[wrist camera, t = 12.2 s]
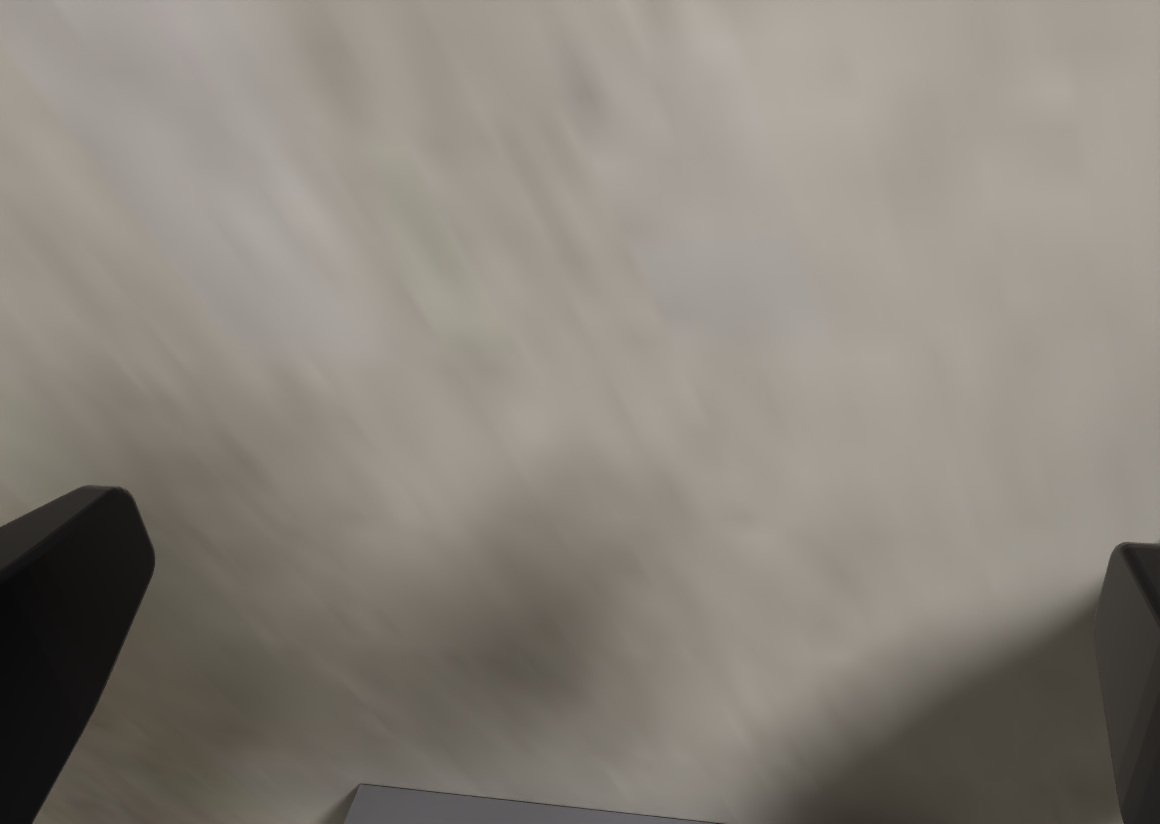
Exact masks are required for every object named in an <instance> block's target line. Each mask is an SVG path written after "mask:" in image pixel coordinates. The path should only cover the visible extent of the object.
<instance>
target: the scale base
mask: <svg viewBox="0 0 1160 824" xmlns="http://www.w3.org/2000/svg"><path fill="white" fill-rule="evenodd" d="M344 824H715V823H706V822H697V821H688V820H679V819H670V818H661V817H652V816H643V815H634V814H625V813H616V812H607V811H598V810H589V809H580V808H571V807H562V806H553V805H544V804H535V803H526V802H517V801H508V800H499V799H490V798H481V797H472V796H463V795H453V794H444V793H435V792H426V791H417V790H408V789H399V788H390V787H381V786H372V785H363V784H360V785H359V788H358V790H357V793H356V795H355V797H354V800H353V802H352V804H351V807H350V809H349V812H348V814H347V816H346V819H345V821H344Z"/></svg>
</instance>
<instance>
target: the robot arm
mask: <svg viewBox="0 0 1160 824" xmlns="http://www.w3.org/2000/svg"><path fill="white" fill-rule="evenodd" d="M154 567H155V553H154V548H153V545H152V543H151V540H150V538H149V535H148V533H147V530H146V528H145V525H144V522H143V520H142V517H141V515H140V512H139V510H138V507H137V505H136V502H135V500H134V498H133V496H132V495H131V494H130V493H129V492H128V491H127V490H126V489H124V488H121V487H117V486H99V485H87V486H82V487H80V488H77V489H75V490H73V491H71V492H69V493H67V494H65V495H63V496H61V497H59V498H57V499H55V500H53V501H51V502H49V503H47V504H45V505H43V506H41V507H39V508H37V509H35V510H33V511H31V512H29V513H27V514H25V515H23V516H21V517H19V518H17V519H15V520H13V521H11V522H9V523H7V524H5V525H4V526H2V527H0V824H32V823H33V821H34V820H35V818H36V816H37V814H38V812H39V811H40V809H41V807H42V805H43V803H44V802H45V800H46V798H47V796H48V794H49V792H50V791H51V789H52V787H53V785H54V783H55V782H56V780H57V778H58V776H59V774H60V772H61V771H62V769H63V767H64V765H65V763H66V762H67V760H68V758H69V756H70V754H71V752H72V751H73V749H74V747H75V745H76V743H77V742H78V740H79V738H80V736H81V734H82V733H83V731H84V729H85V727H86V725H87V723H88V721H89V719H90V717H91V715H92V713H93V711H94V710H95V708H96V705H97V703H98V701H99V699H100V697H101V694H102V692H103V690H104V688H105V686H106V684H107V681H108V679H109V676H110V674H111V672H112V669H113V667H114V665H115V662H116V660H117V658H118V655H119V653H120V651H121V648H122V646H123V644H124V641H125V639H126V637H127V634H128V632H129V629H130V627H131V625H132V622H133V620H134V618H135V615H136V613H137V611H138V608H139V606H140V604H141V601H142V599H143V597H144V594H145V592H146V590H147V587H148V585H149V582H150V580H151V578H152V575H153V571H154ZM1094 642H1095V650H1096V656H1097V663H1098V669H1099V676H1100V683H1101V689H1102V696H1103V703H1104V709H1105V716H1106V722H1107V729H1108V736H1109V742H1110V749H1111V756H1112V762H1113V769H1114V775H1115V782H1116V788H1117V794H1118V800H1119V805H1120V811H1121V815H1122V819H1123V823H1124V824H1160V544H1152V543H1134V542H1123V543H1121V544H1119V545H1117V546H1116V547H1115V549H1114V550H1113V552H1112V554H1111V556H1110V560H1109V564H1108V567H1107V571H1106V575H1105V579H1104V583H1103V587H1102V591H1101V594H1100V598H1099V602H1098V606H1097V610H1096V614H1095V621H1094Z"/></svg>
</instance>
